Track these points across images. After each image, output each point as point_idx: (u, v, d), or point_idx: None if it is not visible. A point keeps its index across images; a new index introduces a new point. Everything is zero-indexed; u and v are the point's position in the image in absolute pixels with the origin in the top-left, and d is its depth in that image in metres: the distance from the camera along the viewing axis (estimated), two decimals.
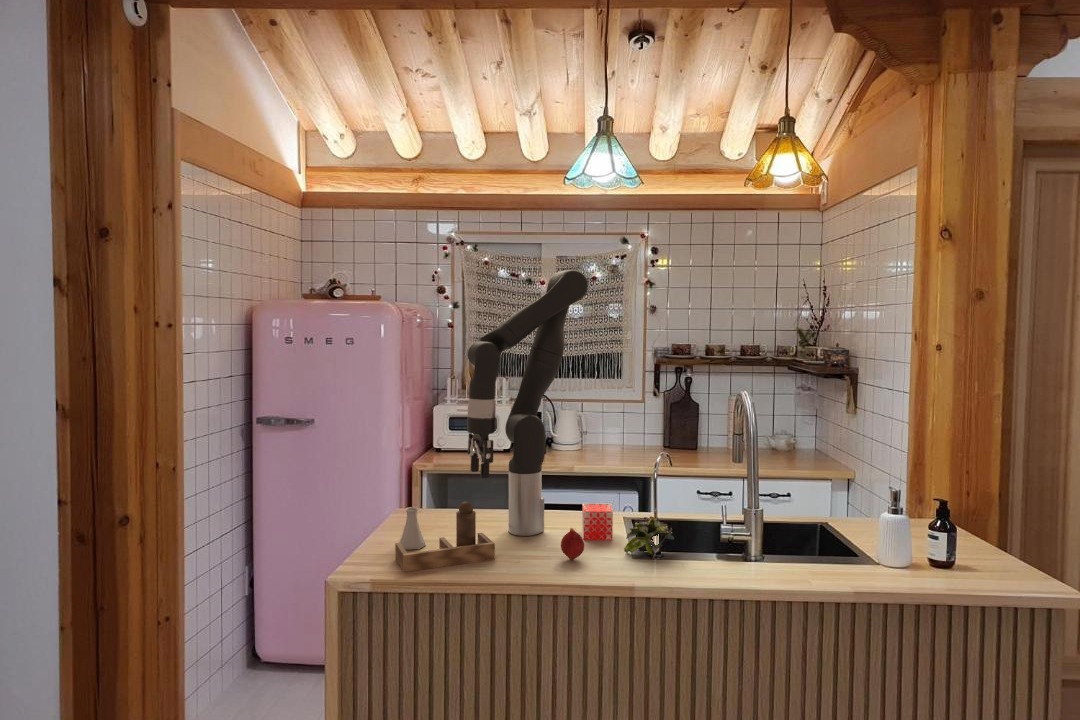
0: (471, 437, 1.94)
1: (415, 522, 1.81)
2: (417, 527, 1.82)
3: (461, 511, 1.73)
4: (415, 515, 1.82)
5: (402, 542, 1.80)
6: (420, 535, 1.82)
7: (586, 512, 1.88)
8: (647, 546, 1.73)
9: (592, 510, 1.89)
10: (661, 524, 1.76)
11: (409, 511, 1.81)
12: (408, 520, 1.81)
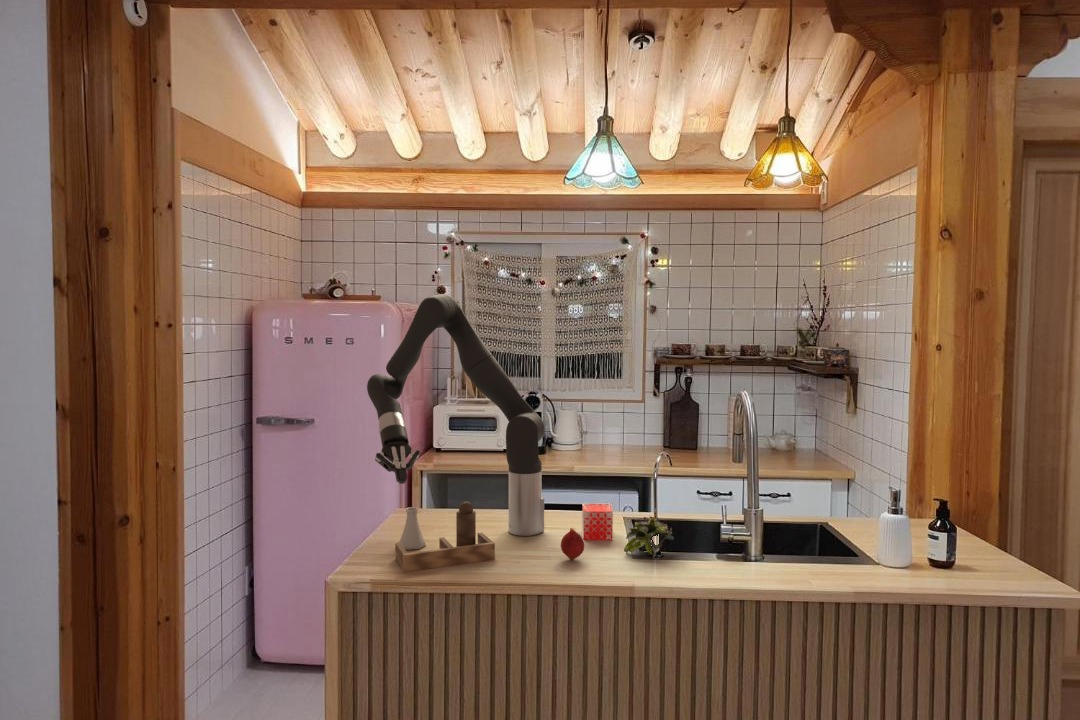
0: None
1: (415, 522, 1.81)
2: (417, 527, 1.82)
3: (461, 511, 1.73)
4: (415, 515, 1.82)
5: (402, 542, 1.80)
6: (420, 535, 1.82)
7: (586, 512, 1.88)
8: (647, 546, 1.73)
9: (592, 510, 1.89)
10: (661, 524, 1.76)
11: (409, 511, 1.81)
12: (408, 520, 1.81)
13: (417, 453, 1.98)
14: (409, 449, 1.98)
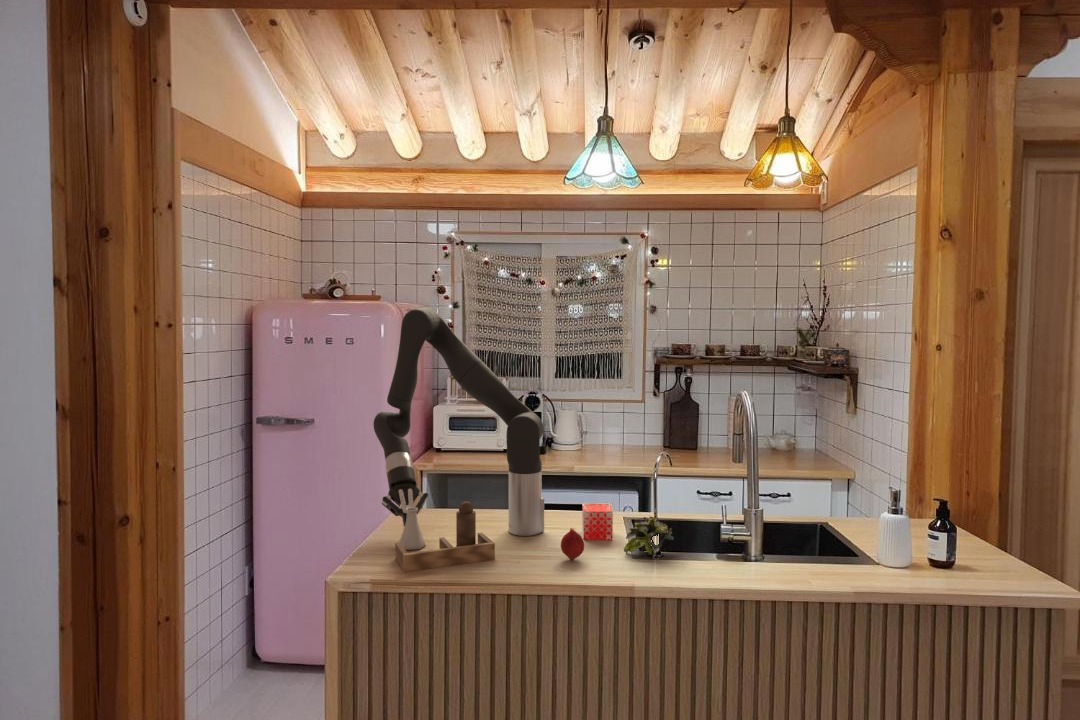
0: None
1: (415, 522, 1.81)
2: (417, 527, 1.81)
3: (461, 511, 1.73)
4: (415, 515, 1.81)
5: (402, 542, 1.80)
6: (420, 535, 1.82)
7: (586, 512, 1.88)
8: (647, 546, 1.73)
9: (592, 510, 1.89)
10: (661, 524, 1.76)
11: (409, 511, 1.80)
12: (408, 520, 1.81)
13: (425, 496, 1.90)
14: (417, 492, 1.91)
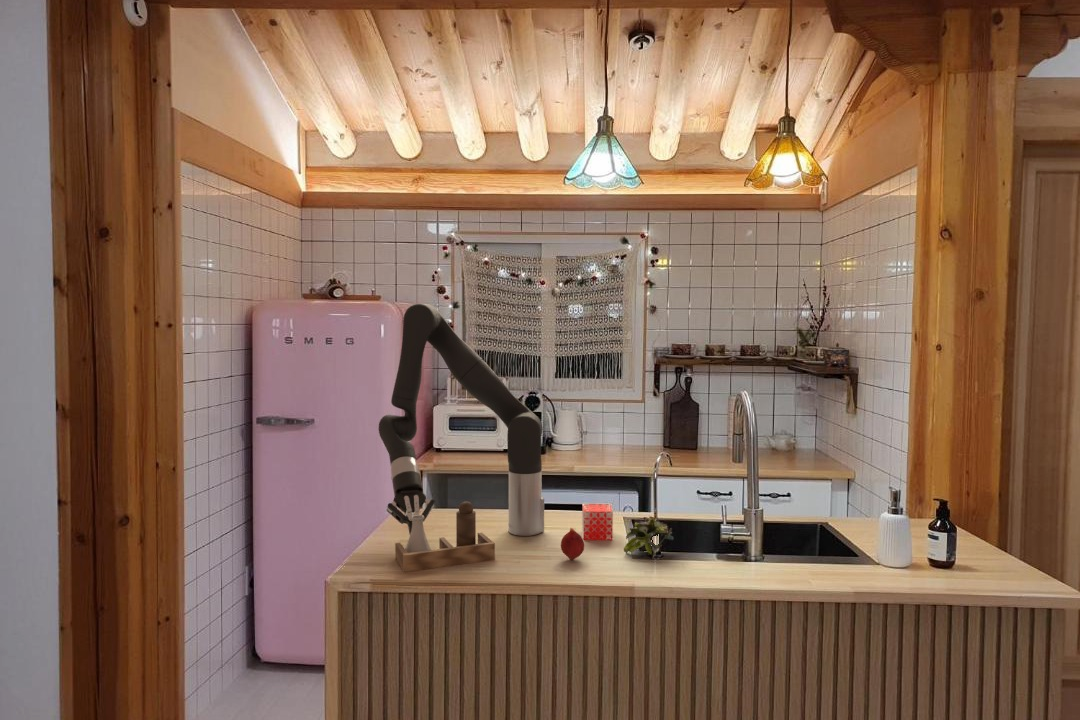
0: None
1: (421, 530, 1.74)
2: (424, 535, 1.74)
3: (461, 511, 1.73)
4: (422, 523, 1.74)
5: (409, 552, 1.72)
6: (427, 544, 1.75)
7: (586, 512, 1.88)
8: (647, 546, 1.73)
9: (592, 510, 1.89)
10: (661, 524, 1.76)
11: (416, 519, 1.73)
12: (415, 529, 1.73)
13: (432, 503, 1.83)
14: (423, 498, 1.83)
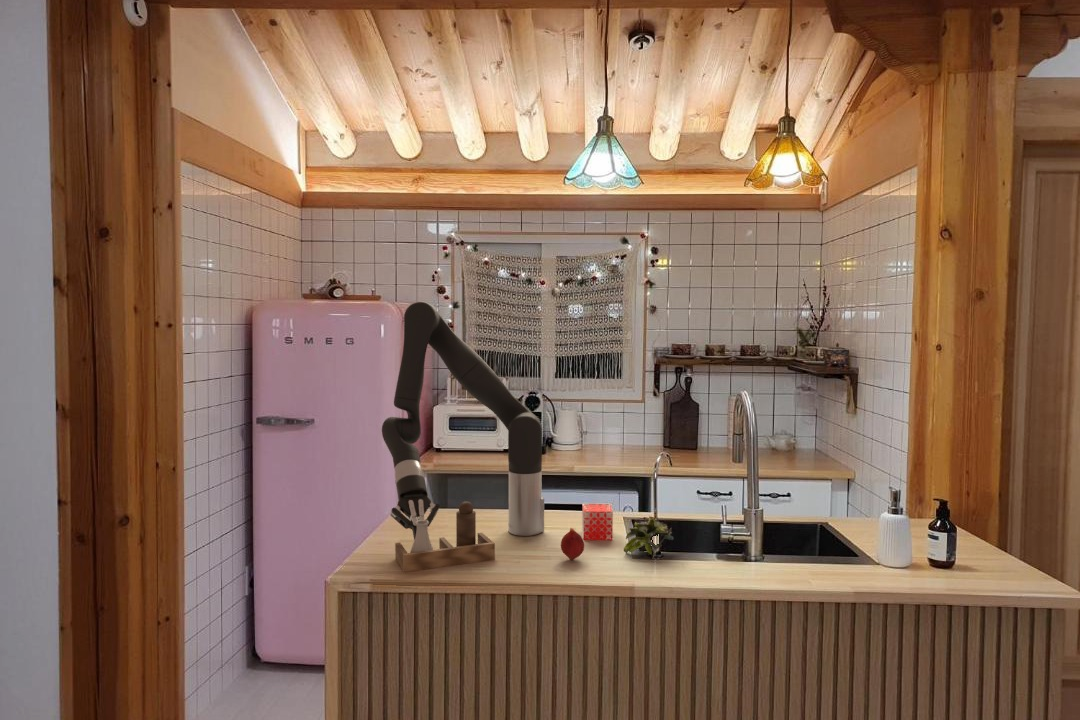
0: None
1: (426, 536, 1.69)
2: (428, 541, 1.69)
3: (461, 511, 1.73)
4: (426, 529, 1.69)
5: None
6: None
7: (586, 512, 1.88)
8: (647, 546, 1.73)
9: (592, 510, 1.89)
10: (661, 524, 1.76)
11: (420, 525, 1.68)
12: (419, 534, 1.69)
13: (437, 507, 1.78)
14: (428, 502, 1.79)
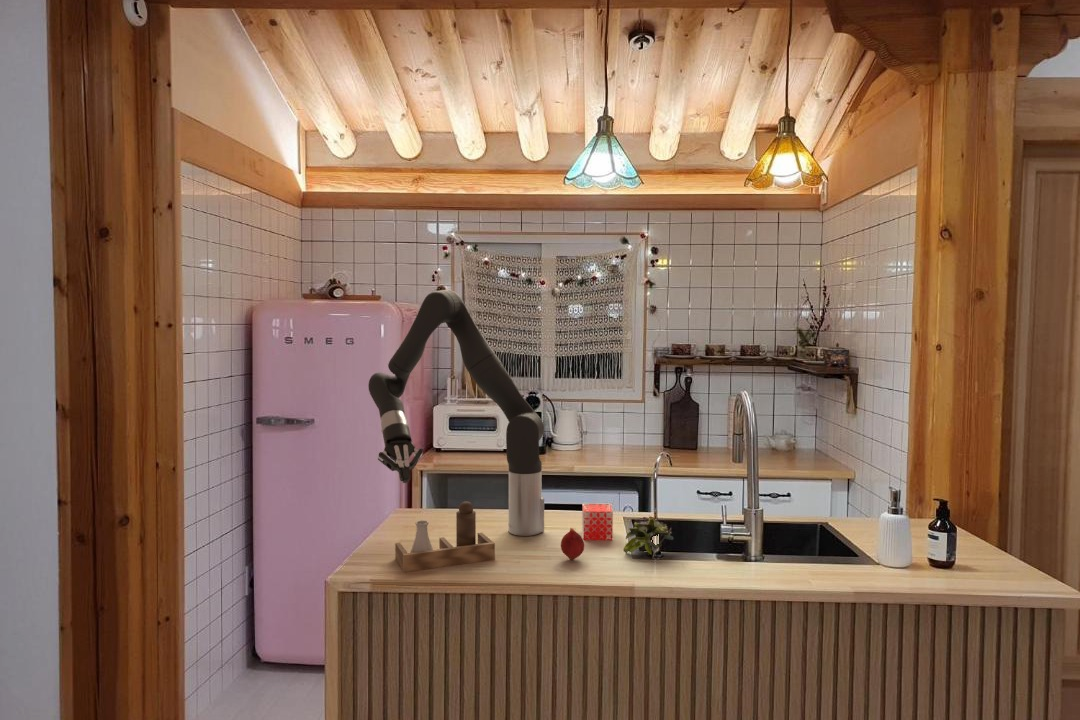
0: None
1: (426, 536, 1.69)
2: (428, 542, 1.70)
3: (461, 511, 1.73)
4: (426, 529, 1.70)
5: None
6: None
7: (586, 512, 1.88)
8: (646, 546, 1.73)
9: (592, 510, 1.89)
10: (660, 524, 1.76)
11: (420, 525, 1.69)
12: (419, 534, 1.69)
13: (420, 451, 1.95)
14: (412, 448, 1.95)
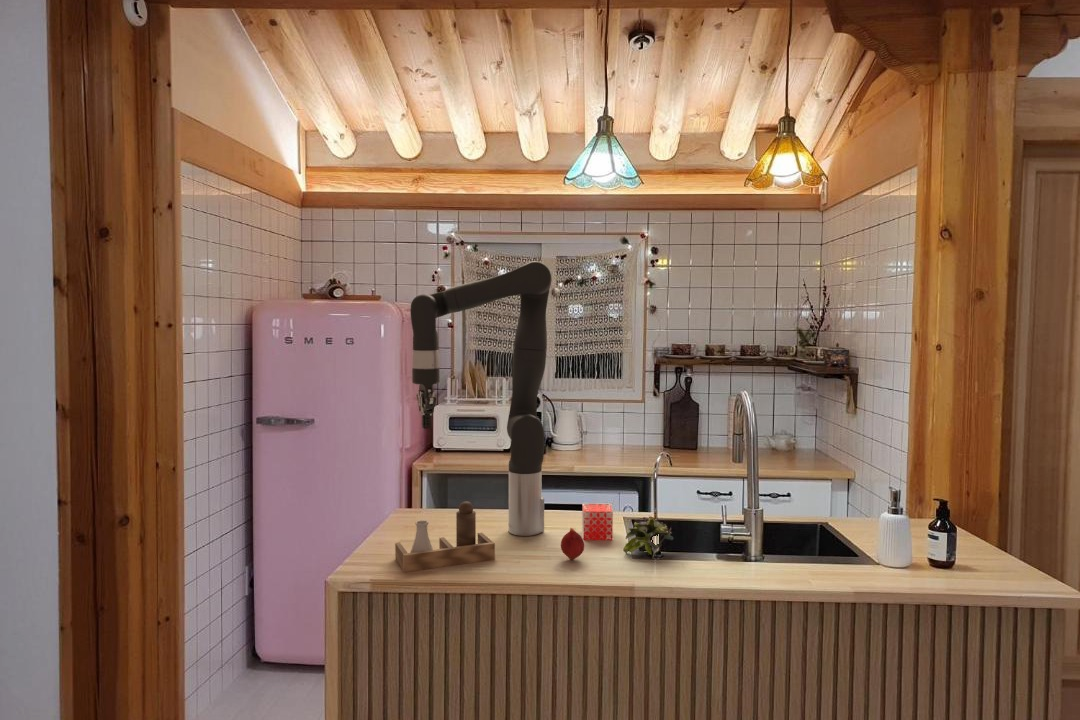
0: (419, 395, 1.99)
1: (425, 536, 1.69)
2: (428, 542, 1.70)
3: (461, 511, 1.73)
4: (426, 529, 1.70)
5: None
6: None
7: (586, 512, 1.88)
8: (646, 546, 1.73)
9: (592, 510, 1.89)
10: (660, 524, 1.76)
11: (420, 525, 1.69)
12: (418, 534, 1.69)
13: None
14: None
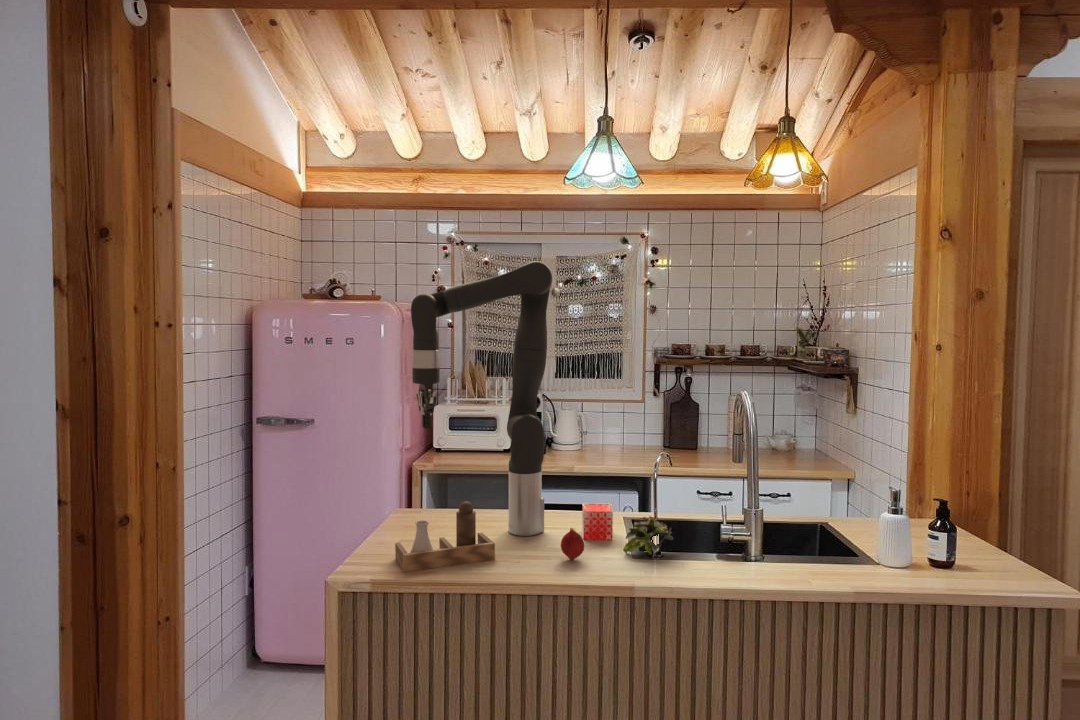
0: None
1: (426, 536, 1.69)
2: (428, 542, 1.70)
3: (461, 511, 1.73)
4: (426, 529, 1.70)
5: None
6: None
7: (586, 512, 1.88)
8: (646, 546, 1.73)
9: (592, 510, 1.89)
10: (660, 524, 1.76)
11: (420, 525, 1.69)
12: (419, 534, 1.69)
13: None
14: None
